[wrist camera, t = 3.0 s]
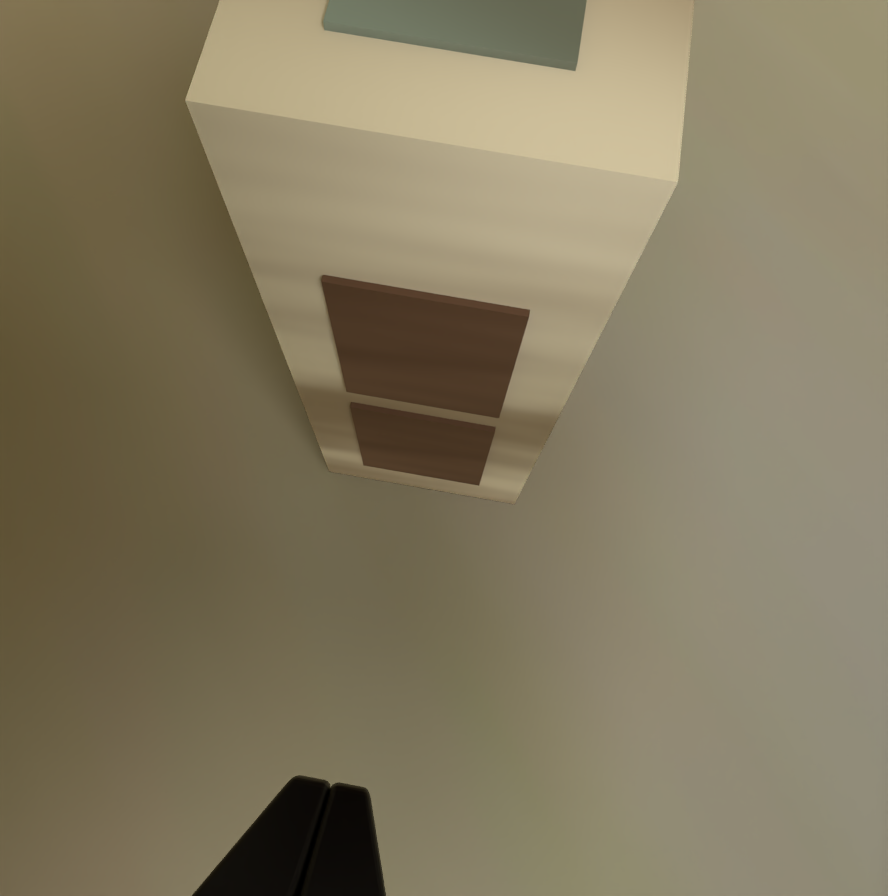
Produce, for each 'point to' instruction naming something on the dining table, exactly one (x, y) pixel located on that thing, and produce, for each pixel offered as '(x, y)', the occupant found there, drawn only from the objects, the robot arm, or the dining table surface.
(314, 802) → the robot arm
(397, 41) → the cream two-panel pillar
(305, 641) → the dining table surface
